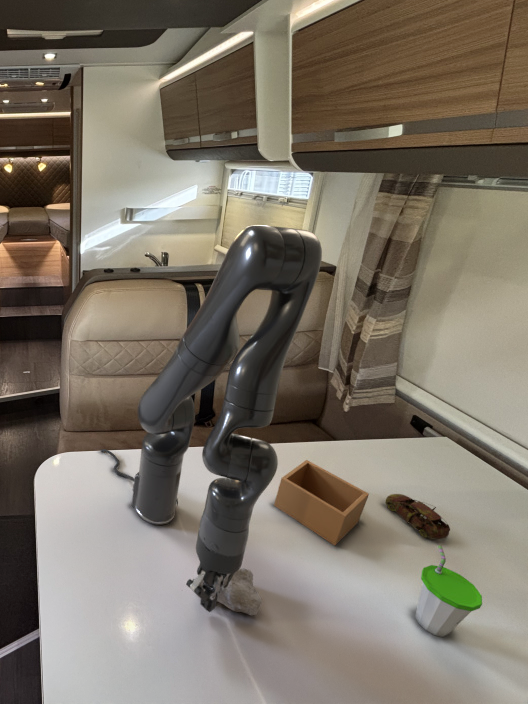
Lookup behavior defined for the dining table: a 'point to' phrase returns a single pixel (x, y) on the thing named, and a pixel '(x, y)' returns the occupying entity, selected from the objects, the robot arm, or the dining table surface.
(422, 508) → the toy car
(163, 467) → the robot arm
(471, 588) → the cup
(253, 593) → the stone
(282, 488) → the box
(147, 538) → the dining table surface
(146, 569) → the dining table surface
